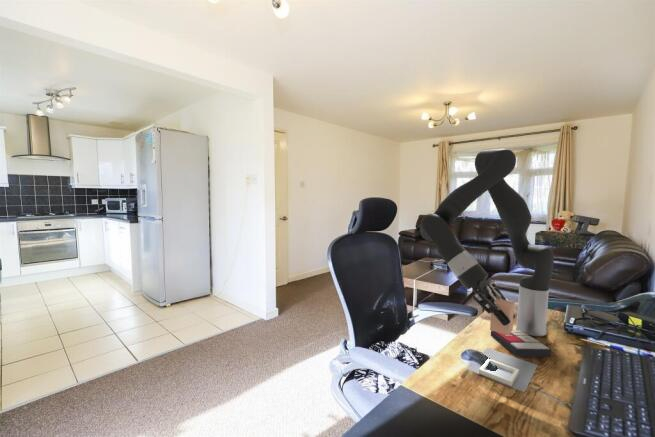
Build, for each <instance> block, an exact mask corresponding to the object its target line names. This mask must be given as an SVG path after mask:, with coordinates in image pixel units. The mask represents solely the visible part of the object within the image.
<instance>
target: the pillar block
mask: <svg viewBox="0 0 655 437" xmlns="http://www.w3.org/2000/svg"><path fill="white" fill-rule="evenodd" d="M496 300H497V302H496V303H497V305H498V306H499V307H500V309H501V310H502V311H503V312H504V314H505V315H506V316H507V317H508V318H509V319H510V321H511V322H510V323H509V324H507V325H505V326H504V325H502V323H501V322H500V321H499V320H498V319H497V317H496V316H495V315H494V314H492V313H490V323H489V324H490V325H489V330H490V331H496V332H499V333H502V334H505V335H509V334H510V333H511V331H512V330H514V328H513V327H514V319H513V317H514V315H515V301H510V300H507V299H506V300H507V301H506V300H502V299H496Z"/></svg>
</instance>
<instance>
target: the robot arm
mask: <svg viewBox="0 0 655 437" xmlns="http://www.w3.org/2000/svg"><path fill="white" fill-rule="evenodd" d="M516 163H517V156H516V154H515V152H514V151H513V150H511V149H509V148H493V149H486V150H485V149H484V150H481V151H479V152H478V153H477V155H476V156H475V159H474V167H475V171H476V173H477V174H478V175H476V176H474V178H472V179H470V180H469V181H467V182H465V183H463V184H461V185H460V186H458V187H457V188H455V189H454V190H452V192H450V193H449V194H448V195H447V196H446V197H445V198H444V199H443V200H442V201H441V202H440V203H439V205H438V206H437V209H436V210H435V212H434V213H428V214H426V215H425V216H424V217H422V219H421V222H420V227H419V228H420V229H419V232H420V235H421V237H422V238H423V239H424V240H425V241H428V242H431V241H432V242H433V243H434V245H435V247H436V249H437V252H438V254H439V255H440V257H441V258H442V259H443V260H444V262H445V263H446V264H447V266H448V268H449V269H450V270H451V272H452V273H453V275H454V276H455V277H456V279H458V281H459V282H460V283H461V284H462V286H463V287H464V288H465V289H466V290H470V289H472V290H473V292H474V295H472V298H473V300H475V302H476V303H477V304H478V305H479V306H480V307H481V308H482V309H483V310H485V312H486V313H488V314H491V313H492V314H494V315H495V316H496V317H497V319H498V320H499V321H500V322H501V323H502V325H504V326H505V325H507V324H509V323H510V322H511V321H510V319H509V318H508V317H507V316H506V315H505V314H504V312H503V311H502V310H501V309H500V307H499V306H498V305H497V303H496V302H497V300H496V299H502V300H506V301H508V300H507V298H506V297H505V295H504V294H503V293H502V292H501V290H500V289H499V287H498V285H496V284H495V283H492V284H490V283H489V281H487V280H486V279H487V278H488V277H489V273H488V272H487V271H486V270H485V269H484V268H483V267H482V265H481V264H480V263H479V261H478V260H476V258H475V257H474V256H473V255H472V254H471V253H470V252H469V251H467V250H466V247H464V246H463V244H461V242H460V241H459V240H458V239H457V238H456V236H455V235H454V233H453V231H452V229H451V228H450V226H451V225H452V224H453V222H455V220H457V219H458V218H459V217H460V215H462V214H463V213H464V212H465V211H466V209H467V208H469V207H470V206H471V204H473V203H474V202H475V201H476V200H477V199H478V198H480V197H481V196H483V195H484V194H485V193H486V192H488V193H489V196H490V198H491V201H492V202H493V205H494V206H495V208H496V210H497V214H498V216H499V218H500V220H501V222H502V225H503V226H504V229H505V231H506V233H507V236H508V238H509V241H510V244H511V248H512V250H513V254H514V258H515V260H516V262H517V263H518V264H519V266H520V267H522V268H525V269H529V270H534V273H533V275H531V276H523V277H521V278H520V279H519V286H518V288H519V289H518V298H517V299H518V302H517V303H518V304H517V316H516V314H514V317H513V320H514V319H515V318H516V330H521V331H523V332H524V333H526V334H528V335H529V336H531V337H532V336H533V337H543V336H546V332H547V331H546V330H547V318H548V308H549V307H548V304H549V292H550V291H549V290H550V285H551V282H552V277H553V270H554V261H555V255H554V251H553V249H552V248H550V247H547V246H543V245H536V244H531V243H530V242H529V239H528V237H527V231H528V230H529V227H530V225H531V223H532V213H531V211H530V208H529V206H528V204H527V202H526V200H525V199H524V197H523V196H521V195H520V193H519V192H517V191H516V190H515V189H514V188H512V186H511V185H510V184H508V183H507V181H506V180H505V178H506V177H507V176H509V175H510V174H511V173H512V172H513V170H514V169H515V167H516V165H517V164H516Z"/></svg>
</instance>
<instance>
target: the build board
mask: <svg viewBox="0 0 655 437" xmlns="http://www.w3.org/2000/svg"><path fill="white" fill-rule="evenodd" d="M482 353H483V354H484V355H486V356H487V357H488V359H487V360H486V361H485V363H484V364H483V365H482V366H481V367H480V366H478V365H476V364H474V362H472V363H471V365H470V366H469V367H468V368H467V370H468V371H470V372H472V373H475V374H477V375H480V376H481V377H485V378H488V379H490V380H492V381H494V382H497V383H500V384H502V385H504V386H507V387H510V388H512V389H515V390H518V391H519V392H523V393H525V392H526V390H527V388H528V385H529V384H530V382H531V380H532V378H533V376H534V374H535V372H536V370H537V368H538V366H539V364H537V363H534V362H530V361H528V360H525V359H522V358H518V357H517V356H513V355H509V354H507V353H504V352H501V351H498V350H495V349H492V348H490V347H486V348H485V349H484V350H483V351H482ZM489 358H490V359H489ZM489 362H492V363H493V364H495V365H496V366H497V368H498V369H497V370H496V371H490V370H486V367H487V366H488V364H489Z"/></svg>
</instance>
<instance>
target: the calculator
mask: <svg viewBox="0 0 655 437" xmlns="http://www.w3.org/2000/svg"><path fill="white" fill-rule="evenodd" d="M490 336H491V337H493V338H494V339H496V340H497V341H498V342H499V343H501V345H503V346H504V347H505V348H506V349H507V350H508V351H510V352H511V353H513V355H515V357H526V358H527V357H534V358H535V357H537V358H539V357H540V358H543V357H544V358H545V357H546V358H551V357H552V349H551V348H549V347H548V346H547V345H545V344H543V343H541V342H540V341H539V340H537V339H536V338H534V337H532V335H528V334H526V333H524V332H523V331H521V330H518V329H513V330H512V331H511V333H510V334H509V335H505V334H502V333H499V332H496V331H492V330H490Z"/></svg>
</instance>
